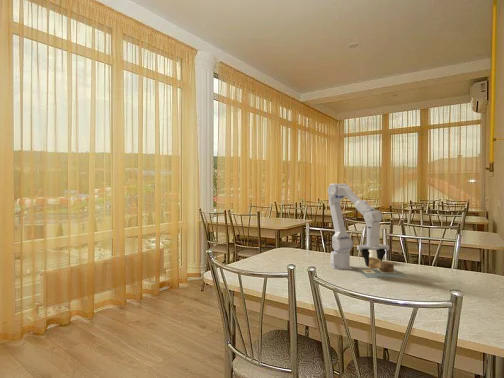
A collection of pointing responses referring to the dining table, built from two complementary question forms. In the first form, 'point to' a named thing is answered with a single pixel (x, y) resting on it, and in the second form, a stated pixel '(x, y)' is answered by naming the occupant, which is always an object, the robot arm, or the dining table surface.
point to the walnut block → (387, 267)
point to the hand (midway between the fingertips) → (372, 265)
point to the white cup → (373, 254)
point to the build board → (382, 274)
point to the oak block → (374, 263)
